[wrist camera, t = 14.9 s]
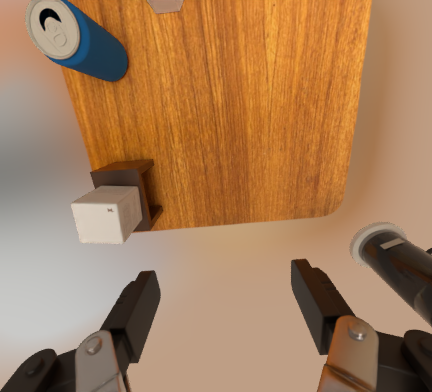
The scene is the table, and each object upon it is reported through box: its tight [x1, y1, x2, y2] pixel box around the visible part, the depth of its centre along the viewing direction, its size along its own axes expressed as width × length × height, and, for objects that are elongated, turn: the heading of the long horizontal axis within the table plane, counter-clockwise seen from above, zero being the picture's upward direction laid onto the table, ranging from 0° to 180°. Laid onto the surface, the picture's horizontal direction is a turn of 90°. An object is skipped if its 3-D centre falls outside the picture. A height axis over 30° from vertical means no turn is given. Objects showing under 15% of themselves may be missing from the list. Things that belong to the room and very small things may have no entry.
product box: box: [71, 186, 142, 244], centre depth 30 cm, size 6×6×7 cm
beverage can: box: [25, 0, 128, 81], centre depth 27 cm, size 6×6×12 cm
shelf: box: [90, 159, 163, 232], centre depth 37 cm, size 8×11×8 cm
